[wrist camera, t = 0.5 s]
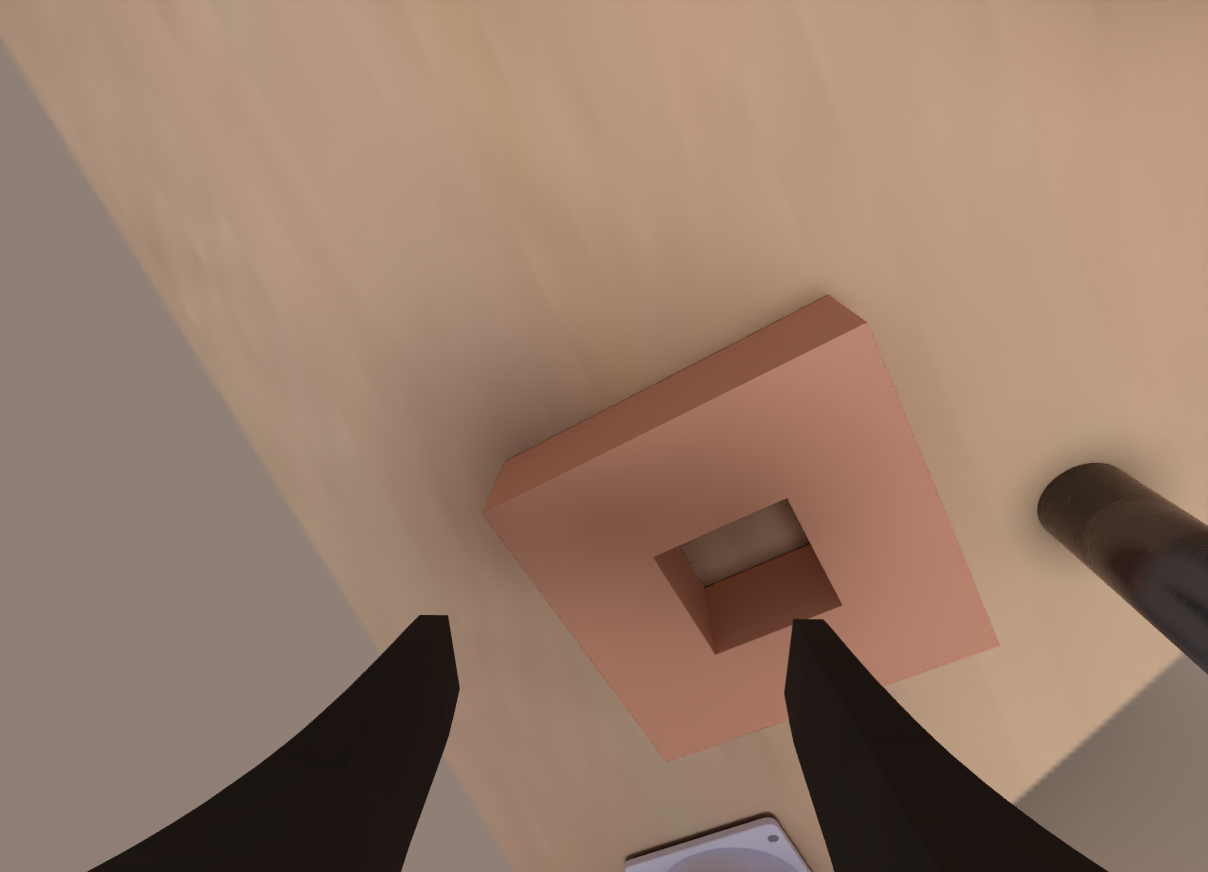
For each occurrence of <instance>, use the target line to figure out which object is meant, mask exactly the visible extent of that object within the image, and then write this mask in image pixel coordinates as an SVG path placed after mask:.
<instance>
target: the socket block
mask: <svg viewBox="0 0 1208 872" xmlns="http://www.w3.org/2000/svg"><path fill="white" fill-rule="evenodd" d="M786 498H787V499H788V501H789V503H790V505H791V507H792V509H793V511H794V513H795V515H796V516H797V518H798V520H799V522H800V524H801V526H802V528H803V530H804V532H805V534H806V536H807V538H808V540H809V542H810V543H811V544H809V545H806V546H804V547H802V548H799V549H797V550H794V551H792V552H790V553H787V554H785V555H782V556H780V557H778V558H775V559H773V560H771V561H768V562H766V563H763V564H761V565H759V566H756V567H754V568H751V569H749V570H747V571H744V572H742V573H739V574H737V575H735V576H732V577H730V578H728V579H725V580H723V581H720V582H718V583H716V584H713V585H711V586H708V587H706V588H704V587H703V585H702V583H701V582H700V580H699V579H698V577H697V575H696V574H695V572H694V570H693V569H692V567H691V566H690V564H689V562H688V561H687V559H686V557H685V556H684V554H683V553H682V551H681V549H680V548H679V545H682V544H684V543H686V542H688V541H691V540H693V539H695V538H698V537H700V536H702V535H704V534H707V533H709V532H711V531H713V530H716V529H718V528H720V527H722V526H725V525H727V524H729V523H732V522H734V521H736V520H738V519H741V518H743V517H745V516H747V515H750V514H752V513H754V512H756V511H759V510H761V509H763V508H766V507H768V506H770V505H772V504H775V503H777V502H779V501H781V500H784V499H786ZM482 514H483V515H484V517H485V518H486V519H487V521H488V522H489V523H490V525H491V526H492V527H493V529H494V530H495V532H496V533H497V534H498V536H499V537H500V538H501V540H502V541H503V542H504V544H505V545H506V546H507V548H508V549H509V550H510V552H511V553H512V555H513V556H514V557H515V559H516V560H517V561H518V563H519V564H520V565H521V567H522V568H523V569H524V571H525V572H526V573H527V575H528V576H529V578H530V579H531V580H532V582H533V583H534V584H535V586H536V587H537V588H538V590H539V591H540V592H541V594H542V595H543V596H544V598H545V599H546V600H547V602H548V603H549V605H550V606H551V607H552V609H553V610H554V611H555V613H556V614H557V615H558V617H559V618H560V619H561V621H562V622H563V623H564V625H565V626H566V628H567V629H568V630H569V632H570V633H571V634H572V636H573V637H574V638H575V640H576V641H577V642H578V644H579V645H580V646H581V648H582V649H583V651H584V652H585V653H586V655H587V656H588V657H589V659H590V660H591V661H592V663H593V664H594V665H595V667H596V668H597V669H598V671H599V672H600V673H601V675H602V676H603V678H604V679H605V680H606V682H607V683H608V684H609V686H610V687H611V688H612V690H613V691H614V692H615V694H616V695H617V696H618V698H619V699H620V701H621V702H622V703H623V705H624V706H625V707H626V709H627V710H628V711H629V713H630V714H631V715H632V717H633V718H634V719H635V721H636V722H637V724H638V725H639V726H640V728H641V729H642V730H643V732H644V733H645V734H646V736H647V737H648V738H649V740H650V741H651V742H652V744H653V745H654V746H655V748H656V749H657V751H658V752H659V753H660V755H661V756H662V757H663V759H664V760H665V761H666V762H669V761H671V760H674V759H677V758H680V757H683V756H686V755H689V754H691V753H694V752H697V751H700V750H703V749H706V748H709V747H711V746H714V745H717V744H720V743H723V742H726V741H729V740H731V739H734V738H737V737H740V736H743V735H746V734H749V733H751V732H754V731H757V730H760V729H763V728H766V727H769V726H771V725H774V724H777V723H780V722H783V721H786V720H789V717H788V712H787V707H786V702H785V696H784V689H785V681H786V673H787V665H788V657H789V649H790V641H791V633H792V624H793V619H824V620H825V621H826V622H827V623H828V624H829V626H830V627H831V628H832V629H833V630H834V631H835V633H836V634H837V635H838V636H839V637H840V639H841V640H842V641H843V642H844V643H845V644H846V646H847V647H848V648H849V649H850V650H851V651H852V653H853V654H854V655H855V656H856V657H857V658H858V659H859V661H860V662H861V663H862V664H863V665H864V666H865V667H866V669H867V670H868V671H869V672H870V673H871V674H872V675H873V676H874V678H875V679H876V680H877V681H878V682H879V683H880V684H881V685H882V686H886V685H889V684H891V683H894V682H897V681H900V680H903V679H906V678H909V677H911V676H914V675H917V674H920V673H923V672H926V671H929V670H931V669H934V668H937V667H940V666H943V665H946V664H949V663H951V662H954V661H957V660H960V659H963V658H966V657H969V656H971V655H974V654H977V653H980V652H983V651H986V650H989V649H991V648H994V647H997V646H1000V645H999V642H998V640H997V637H996V635H995V632H994V630H993V627H992V625H991V623H990V620H989V618H988V615H987V613H986V610H985V608H984V606H983V603H982V601H981V598H980V596H979V593H978V591H977V589H976V586H975V584H974V581H973V579H972V576H971V574H970V571H969V569H968V567H967V564H966V562H965V559H964V557H963V554H962V552H961V550H960V547H959V545H958V542H957V540H956V537H955V535H954V532H953V530H952V528H951V525H950V523H949V520H948V518H947V515H946V513H945V511H944V508H943V506H942V503H941V501H940V498H939V496H938V494H937V491H936V489H935V486H934V484H933V481H932V479H931V476H930V474H929V472H928V469H927V467H926V464H925V462H924V459H923V457H922V455H921V452H920V450H919V447H918V445H917V442H916V440H915V437H914V435H913V433H912V430H911V428H910V425H909V423H908V420H907V418H906V416H905V413H904V411H903V408H902V406H901V403H900V401H899V398H898V396H897V394H896V391H895V389H894V386H893V384H892V381H891V379H890V377H889V374H888V372H887V369H886V367H885V364H884V362H883V360H882V357H881V355H880V352H879V350H878V347H877V345H876V342H875V340H874V338H873V335H872V333H871V330H870V328H869V325H868V323H867V322H866V321H865V320H863V319H862V318H860V317H859V316H857V315H856V314H855V313H853V312H852V311H850V310H849V309H847V308H846V307H845V306H843V305H842V304H840V303H839V302H837V301H836V300H834V299H833V298H832V297H830V296H829V295H827V296H825V297H823V298H821V299H820V300H818V301H816V302H814V303H812V304H810V305H808V306H806V307H804V308H802V309H800V310H798V311H796V312H794V313H792V314H790V315H789V316H787V317H785V318H783V319H781V320H779V321H777V322H775V323H773V324H771V325H769V326H767V327H765V328H763V329H761V330H759V331H758V332H756V333H754V334H752V335H750V336H748V337H746V338H744V339H742V340H740V341H738V342H736V343H734V344H732V345H730V346H728V347H727V348H725V349H723V350H721V351H719V352H717V353H715V354H713V355H711V356H709V357H707V358H705V359H703V360H701V361H699V362H697V363H696V364H694V365H692V366H690V367H688V368H686V369H684V370H682V371H680V372H678V373H676V374H674V375H672V376H670V377H668V378H666V379H665V380H663V381H661V382H659V383H657V384H655V385H653V386H651V387H649V388H647V389H645V390H643V391H641V392H639V393H637V394H635V395H633V396H632V397H630V398H628V399H626V400H624V401H622V402H620V403H618V404H616V405H614V406H612V407H610V408H608V409H606V410H604V411H602V412H601V413H599V414H597V415H595V416H593V417H591V418H589V419H587V420H585V421H583V422H581V423H579V424H577V425H575V426H573V427H571V428H570V429H568V430H566V431H564V432H562V433H560V434H558V435H556V436H554V437H552V438H550V439H548V440H546V441H544V442H542V443H540V444H539V445H537V446H535V447H533V448H531V449H529V450H527V451H525V452H523V453H521V454H519V455H517V456H515V457H513V458H511V459H509V460H508V461H506V462H504V464H503V467H502V469H501V471H500V474H499V476H498V478H497V481H496V483H495V485H494V488H493V490H492V492H491V495H490V497H489V499H488V502H487V504H486V506H485V509H484V511H483V513H482Z"/></svg>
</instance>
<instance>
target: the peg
mask: <svg viewBox="0 0 1208 872" xmlns="http://www.w3.org/2000/svg"><path fill="white" fill-rule="evenodd" d="M1038 517H1039V520H1040V522H1041V524H1042V526H1043V527H1044V528H1045V529H1046V530H1047V531H1048V532H1049V533H1050V534H1051V535H1053V536H1054V537H1055V538H1056V539H1057V540H1058V541H1059V542H1060V543H1062V544H1063V545H1064V546H1065V547H1066V548H1067V549H1068V550H1069V551H1070V552H1072V553H1073V554H1074V555H1075V556H1076V557H1077V558H1078V559H1079V560H1080V561H1082V562H1083V563H1084V564H1085V565H1086V566H1087V567H1088V568H1089V569H1091V570H1092V571H1093V572H1094V573H1095V574H1096V575H1097V576H1098V577H1099V578H1101V579H1102V580H1103V581H1104V582H1105V583H1106V584H1107V585H1108V586H1110V587H1111V588H1112V589H1113V590H1114V591H1115V592H1116V593H1117V594H1118V595H1120V596H1121V597H1122V598H1123V599H1124V600H1125V601H1126V602H1127V603H1129V604H1130V605H1131V606H1132V607H1133V608H1134V609H1135V610H1136V611H1137V612H1139V613H1140V614H1141V615H1142V616H1143V617H1144V618H1145V619H1146V620H1147V621H1149V622H1150V623H1151V624H1152V625H1153V626H1154V627H1155V628H1156V629H1158V630H1159V631H1160V632H1161V633H1162V634H1163V635H1164V636H1165V637H1166V638H1168V639H1169V640H1170V641H1171V642H1172V643H1173V644H1174V645H1175V646H1177V647H1178V648H1179V649H1180V650H1181V651H1182V652H1183V653H1184V654H1185V655H1187V656H1188V657H1189V658H1190V659H1191V660H1192V661H1193V662H1194V663H1196V664H1197V665H1198V666H1199V667H1200V668H1201V669H1202V670H1203V671H1204V672H1206V673H1207V674H1208V525H1206V524H1204V523H1203V522H1201V521H1200V520H1198V519H1197V518H1195V517H1193V516H1192V515H1190V514H1189V513H1187V512H1186V511H1184V510H1182V509H1181V508H1179V507H1178V506H1176V505H1175V504H1173V503H1171V502H1170V501H1168V500H1167V499H1165V498H1164V497H1162V496H1160V495H1159V494H1157V493H1156V492H1154V491H1153V490H1151V489H1149V488H1148V487H1146V486H1145V485H1143V484H1142V483H1140V482H1138V481H1137V480H1135V479H1134V478H1132V477H1131V476H1129V475H1127V474H1126V473H1124V472H1123V471H1121V470H1120V469H1118V468H1116V467H1114V466H1111V465H1108V464H1102V463H1091V464H1085V465H1081V466H1078V467H1075V468H1072V469H1070V470H1068V471H1066V472H1064V473H1063V474H1061V475H1060V476H1058V477H1057V478H1056V479H1055V480H1053V481H1052V482H1051V483H1050V484H1049V486H1048V487H1047V488H1046V489H1045V491H1044V492H1043V494H1042V496H1041V498H1040V501H1039V505H1038Z"/></svg>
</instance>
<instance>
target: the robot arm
mask: <svg viewBox="0 0 1208 872" xmlns="http://www.w3.org/2000/svg"><path fill="white" fill-rule="evenodd" d="M459 689H460V687H459V681H458V675H457V668H456V662H455V656H454V650H453V643H452V637H451V631H450V625H449V619H448V615H419V616H418V617H417V618H416V619H415V620H414V621H413V622H412V623H411V624H410V625H409V626H408V627H407V628H406V629H405V631H404V632H403V633H402V634H401V635H400V636H399V637H398V638H397V639H396V640H395V641H394V642H393V643H392V644H391V645H390V646H389V647H388V648H387V649H386V650H385V651H384V652H383V653H382V655H381V656H380V657H379V658H378V659H377V660H376V661H375V662H374V663H373V664H372V665H371V666H370V667H369V668H368V669H367V670H366V671H365V672H364V673H363V674H362V675H361V676H360V677H359V678H358V679H357V680H356V681H355V682H354V683H353V684H352V685H351V686H350V687H349V688H348V689H347V690H346V691H345V692H343V693H342V694H341V695H340V696H339V697H338V698H337V699H336V700H335V701H334V702H333V703H332V704H331V705H329V706H328V707H327V708H326V709H325V710H324V711H323V712H322V713H321V714H320V715H318V717H316V718H315V719H314V720H313V721H312V722H311V723H310V724H308V725H307V726H306V727H305V728H304V729H303V730H302V731H300V732H299V733H298V734H297V735H296V736H294V737H293V738H292V739H291V740H290V741H288V742H287V743H286V744H285V745H284V746H282V747H281V748H279V749H278V750H277V751H276V752H274V753H273V754H272V755H271V756H269V757H268V758H267V759H265V760H264V761H263V762H261V763H260V764H259V765H257V766H256V767H255V768H253V769H252V770H251V771H249V772H248V773H246V774H245V775H243V776H242V777H241V778H239V779H238V780H237V781H235V782H233V783H232V784H231V785H229V786H228V787H226V788H225V789H223V790H222V791H221V792H219V793H218V794H216V795H215V796H213V797H212V798H211V799H209V800H208V801H206V802H205V803H203V804H202V805H200V806H199V807H197V808H196V809H194V810H192V811H191V812H189V813H188V814H186V815H185V816H183V817H181V818H180V819H178V820H177V821H175V822H173V823H172V824H170V825H169V826H167V827H165V828H164V829H162V830H160V831H159V832H157V833H155V834H154V835H152V836H150V837H149V838H147V839H145V840H144V841H142V842H140V843H138V844H137V845H135V846H133V847H132V848H130V849H128V850H126V851H125V852H123V853H121V854H119V855H118V856H115V857H113V858H112V859H110V860H108V861H106V862H104V863H103V864H101V865H99V866H97V867H95V868H93V869H91V870H90V871H88V872H401V870H402V867H403V864H404V861H405V858H406V854H407V851H408V848H409V845H410V842H411V840H412V837H413V834H414V831H415V829H416V826H417V823H418V820H419V818H420V815H421V812H422V809H423V806H424V804H425V801H426V798H427V795H428V793H429V790H430V787H431V784H432V782H433V779H434V776H435V773H436V771H437V768H438V765H439V762H440V759H441V757H442V754H443V751H444V748H445V745H446V742H447V739H448V736H449V733H450V728H451V724H452V720H453V716H454V712H455V707H456V703H457V698H458V694H459ZM784 696H785V702H786V707H787V712H788V717H789V722H790V727H791V732H792V737H793V742H794V745H795V749H796V752H797V755H798V758H799V761H800V765H801V768H802V771H803V774H804V777H805V780H806V784H807V787H808V790H809V793H810V796H811V799H812V802H813V805H814V808H815V811H816V815H817V818H818V821H819V824H820V827H821V830H822V833H823V836H824V839H825V842H826V846H827V849H828V852H829V855H830V858H831V862H832V865H833V869H834V872H1108V871H1106V870H1105V869H1103V868H1102V867H1100V866H1099V865H1097V864H1096V863H1094V862H1093V861H1091V860H1089V859H1088V858H1087V857H1085V856H1084V855H1082V854H1081V853H1079V852H1078V851H1076V850H1075V849H1073V848H1072V847H1070V846H1069V845H1067V844H1066V843H1065V842H1063V841H1062V840H1060V839H1059V838H1057V837H1056V836H1055V835H1053V834H1052V833H1050V832H1049V831H1047V830H1046V829H1045V828H1043V827H1042V826H1040V825H1039V824H1038V823H1036V822H1035V821H1034V820H1033V819H1031V818H1030V817H1029V816H1027V815H1026V814H1024V813H1023V812H1022V811H1021V810H1019V809H1018V808H1017V807H1015V806H1014V805H1013V804H1011V803H1010V802H1009V801H1007V800H1006V799H1005V798H1003V797H1002V796H1001V795H1000V794H998V793H997V792H996V791H994V790H993V789H992V788H991V787H989V786H988V785H987V784H986V783H984V782H983V781H982V780H981V779H980V778H979V777H977V776H976V775H975V774H974V773H973V772H971V771H970V770H969V769H968V768H967V767H966V766H964V765H963V764H962V763H961V762H960V761H959V760H957V759H956V758H955V757H954V756H953V755H951V754H950V753H949V752H948V751H947V750H946V749H945V748H944V747H943V746H942V745H940V744H939V743H938V742H937V741H936V740H935V739H934V738H933V737H932V736H931V735H930V734H929V733H928V732H927V731H926V730H925V729H924V728H923V727H922V726H921V725H920V724H919V723H918V722H917V721H915V720H914V719H913V718H912V717H911V715H910V714H909V713H908V712H907V711H906V710H905V709H904V708H903V707H902V706H901V705H900V704H899V703H898V702H897V701H896V700H895V699H894V698H893V697H892V696H891V695H890V694H889V693H888V691H887V690H886V689H885V688H884V687H883V686H882V685H881V684H880V683H879V682H878V681H877V680H876V679H875V678H874V676H873V675H872V674H871V673H870V672H869V671H868V670H867V669H866V667H865V666H864V665H863V664H862V663H861V662H860V661H859V659H858V658H857V657H856V656H855V655H854V654H853V653H852V651H851V650H850V649H849V648H848V647H847V646H846V644H845V643H844V642H843V641H842V640H841V639H840V637H839V636H838V635H837V634H836V633H835V631H834V630H833V629H832V628H831V627H830V626H829V624H828V623H827V622H826V621H825V620H824V619H793V624H792V633H791V641H790V649H789V657H788V665H787V673H786V681H785V689H784ZM624 872H811V871H810V869H809V868H808V866H807V865H806V863H805V862H804V860H803V859H802V857H801V856H800V854H799V853H798V851H797V850H796V848H795V847H794V845H793V844H792V843H791V841H790V840H789V838H788V837H787V835H786V834H785V832H784V831H783V829H782V828H781V826H780V825H779V823H778V822H777V821H776V820H775V819H773V818H769V817H766V818H761V819H758V820H755V821H752V822H749V823H745V824H742V825H739V826H736V827H733V828H729V829H726V830H723V831H720V832H717V833H713V834H710V835H707V836H704V837H701V838H697V839H694V840H691V841H688V842H685V843H681V844H678V845H675V846H672V847H669V848H665V849H662V850H659V851H656V852H653V853H649V854H646V855H643V856H640V857H637V858H633V859H630V860H628V861H627V862H626V863H625V871H624Z"/></svg>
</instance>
